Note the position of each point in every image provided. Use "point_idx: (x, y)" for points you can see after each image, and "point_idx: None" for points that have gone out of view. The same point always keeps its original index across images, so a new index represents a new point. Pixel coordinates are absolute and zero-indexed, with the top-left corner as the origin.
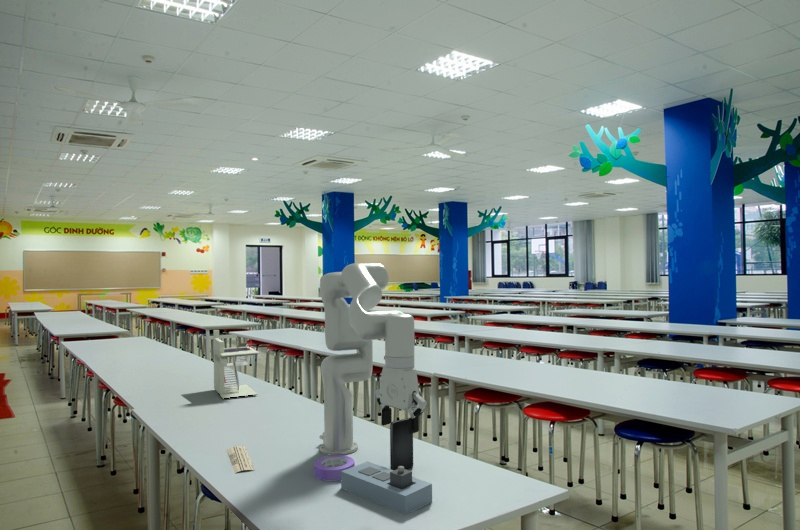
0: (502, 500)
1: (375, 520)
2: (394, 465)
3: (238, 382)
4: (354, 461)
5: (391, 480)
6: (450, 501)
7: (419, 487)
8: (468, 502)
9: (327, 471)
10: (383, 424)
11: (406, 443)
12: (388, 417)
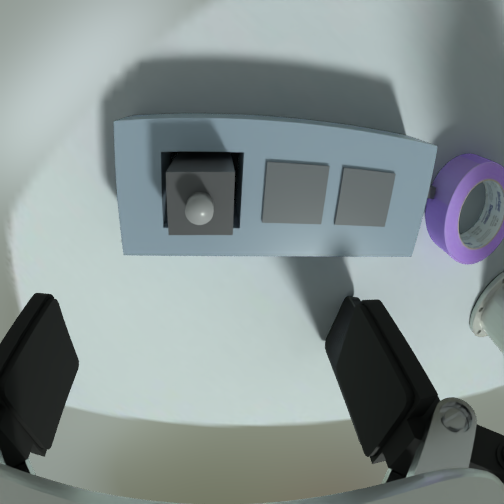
0: None
1: (186, 41)
2: (352, 311)
3: None
4: (448, 251)
5: (225, 164)
6: (114, 266)
7: (129, 206)
8: (85, 287)
9: (474, 163)
10: (361, 306)
11: None
12: (358, 384)
